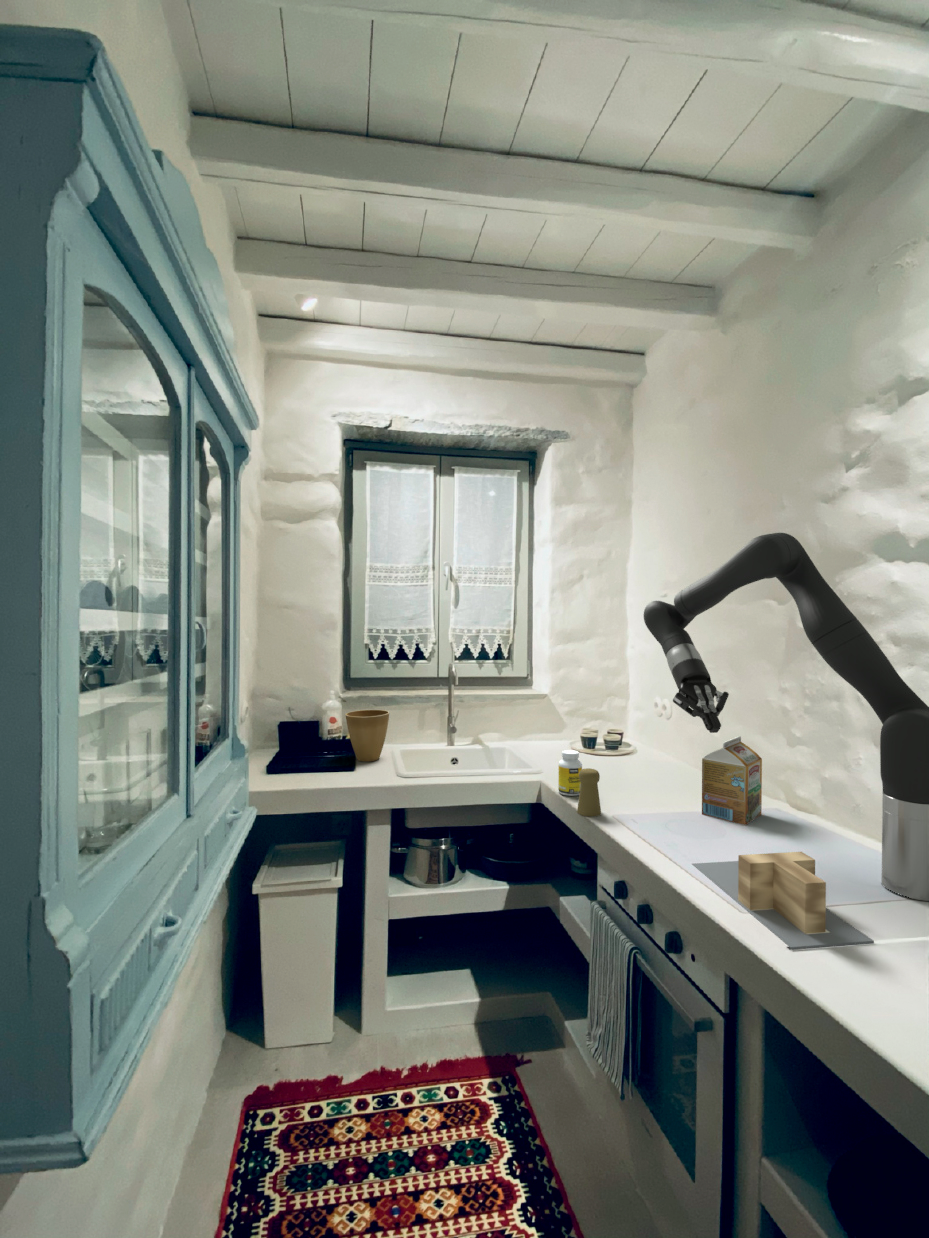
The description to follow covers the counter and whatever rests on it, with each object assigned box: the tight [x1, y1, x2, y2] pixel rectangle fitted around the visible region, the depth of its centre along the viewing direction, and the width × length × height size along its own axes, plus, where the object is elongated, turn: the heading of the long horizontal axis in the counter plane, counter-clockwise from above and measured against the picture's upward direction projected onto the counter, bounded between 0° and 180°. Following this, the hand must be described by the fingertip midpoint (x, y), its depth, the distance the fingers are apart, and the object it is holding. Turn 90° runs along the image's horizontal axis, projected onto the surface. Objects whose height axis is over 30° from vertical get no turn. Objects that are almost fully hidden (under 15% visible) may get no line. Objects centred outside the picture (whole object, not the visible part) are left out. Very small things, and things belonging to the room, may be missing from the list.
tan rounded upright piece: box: [576, 767, 602, 818], centre depth 152 cm, size 6×6×11 cm
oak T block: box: [737, 851, 827, 934], centre depth 101 cm, size 12×12×8 cm
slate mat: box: [691, 860, 875, 951], centre depth 107 cm, size 14×30×1 cm, turn 7°
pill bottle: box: [558, 749, 583, 797], centre depth 168 cm, size 6×6×12 cm
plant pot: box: [345, 709, 390, 763], centre depth 206 cm, size 15×15×16 cm
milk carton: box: [701, 735, 763, 826], centre depth 151 cm, size 11×11×19 cm
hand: (715, 730), depth 128 cm, fingers closed
